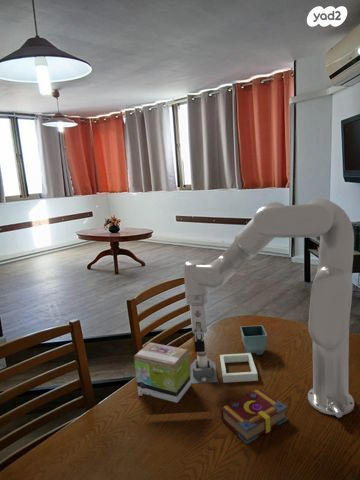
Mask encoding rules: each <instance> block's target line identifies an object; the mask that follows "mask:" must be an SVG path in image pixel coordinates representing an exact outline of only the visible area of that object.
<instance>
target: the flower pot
mask: <svg viewBox="0 0 360 480" xmlns="http://www.w3.org/2000/svg"><path fill="white" fill-rule="evenodd" d="M239 329H240V334H241V340H242V343H243V346H244V350H245V351H246V352H245V353H251V354H255V355H256V356H261V355H263V353H264V352H265V351H266V348H267V341H268V334H267V332H266V330H265V327H264V326H263V325H258V324H257V325H245V326H240V327H239Z"/></svg>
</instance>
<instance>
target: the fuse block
mask: <svg viewBox="0 0 360 480" xmlns="http://www.w3.org/2000/svg"><path fill="white" fill-rule="evenodd" d="M207 362H208V368H198V360H197V359H194V361H192V363H190V382H191V384H205V383H218V376H217V375H218V374H217V365H216V362H215V361H213V360H211V358H207Z"/></svg>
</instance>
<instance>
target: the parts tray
mask: <svg viewBox="0 0 360 480" xmlns="http://www.w3.org/2000/svg"><path fill="white" fill-rule="evenodd" d="M219 359H220V369H221V374H222V382H223V383H224V384H225V383H226V384H227V383H239V382H256V381H257V382H258V381H259V378H258V376H259V375H258V370H257V367H256V365H255V362H254V359H253V355H252V353H247V352H245V353H228V354H219ZM241 362H242V363H243V362H248V364H249V368H250V371H244V372H227V368H226V363H241Z"/></svg>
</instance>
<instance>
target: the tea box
mask: <svg viewBox="0 0 360 480" xmlns="http://www.w3.org/2000/svg"><path fill="white" fill-rule="evenodd" d="M189 359H190V358H189V350H188V349H187V348H183V347H182V348H181V347H177V346H171V345H167V344H166V345H165V344H161V343H156V342H151V341H150V342H148V343H147V344H146V345H145V346H143V348H142V349H140V350H139V351H138V352H137V353H136V354H135V355H134V356H133V361H134V362H133V363H134V368H135V377H136V387H137V392H138V393H137V394H138V396H141V397H142V396H143V394H144V395H147V396H151V397H154V398H158V399H161V400H165V401H170V402H173V403H178V402H179V401H180V400H182V397H183V396H184V395H185V394H186V392H187V391H188V390H189V388H190V387H192V385H191V384H192V383H191V382H190V380H191V368H190V360H189Z"/></svg>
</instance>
